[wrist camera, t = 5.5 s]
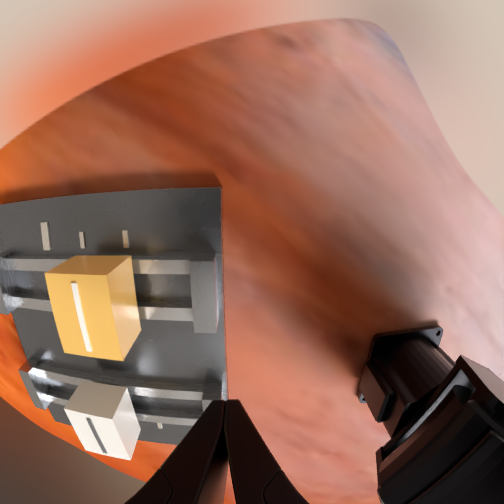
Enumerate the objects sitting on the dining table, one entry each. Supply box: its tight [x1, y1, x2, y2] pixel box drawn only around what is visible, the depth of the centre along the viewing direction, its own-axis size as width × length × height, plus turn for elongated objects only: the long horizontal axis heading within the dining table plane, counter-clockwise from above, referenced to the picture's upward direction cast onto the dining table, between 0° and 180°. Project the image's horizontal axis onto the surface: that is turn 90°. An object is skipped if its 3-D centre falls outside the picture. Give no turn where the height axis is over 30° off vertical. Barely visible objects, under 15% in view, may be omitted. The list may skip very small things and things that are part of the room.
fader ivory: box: [64, 380, 141, 460], centre depth 16 cm, size 4×4×5 cm
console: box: [0, 187, 229, 445], centre depth 17 cm, size 17×20×3 cm
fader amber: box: [45, 256, 141, 361], centre depth 14 cm, size 4×4×5 cm
